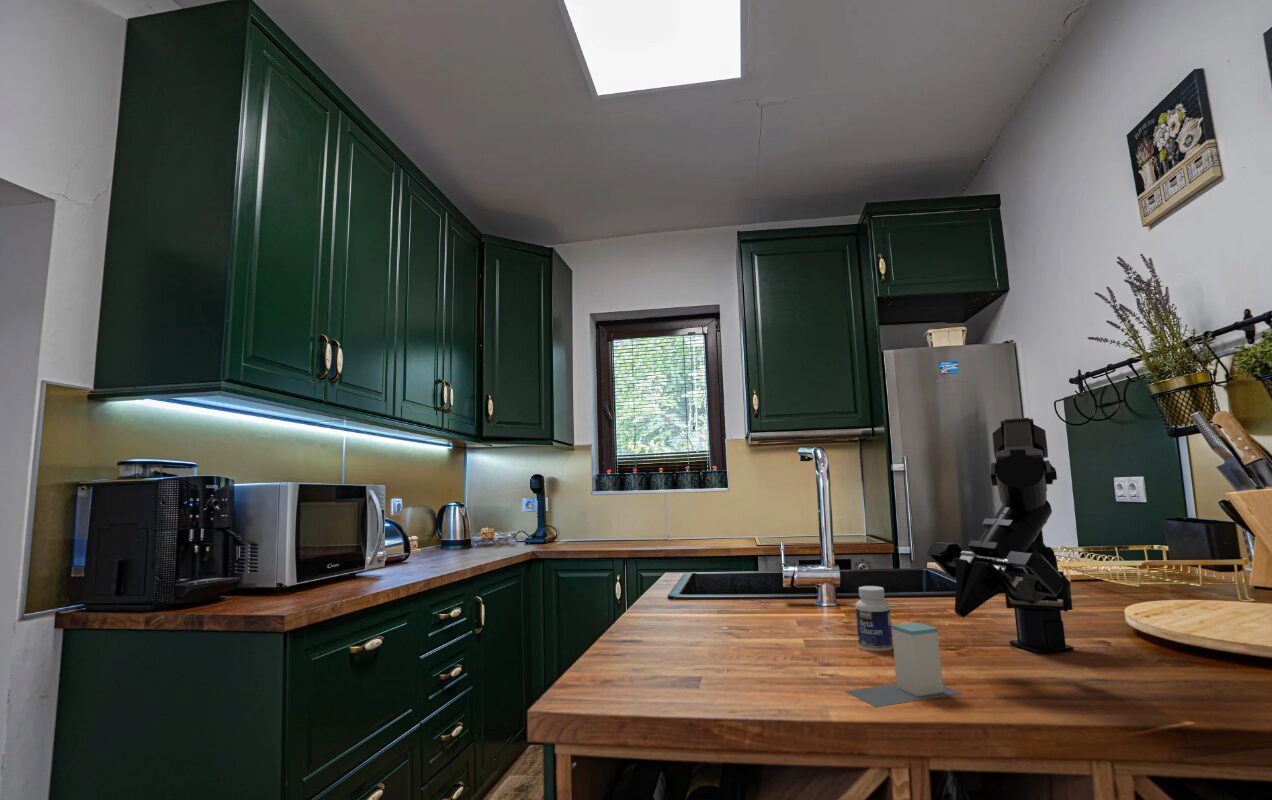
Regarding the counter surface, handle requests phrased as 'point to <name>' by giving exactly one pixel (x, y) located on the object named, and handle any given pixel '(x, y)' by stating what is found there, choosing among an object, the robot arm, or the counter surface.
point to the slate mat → (894, 695)
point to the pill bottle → (873, 620)
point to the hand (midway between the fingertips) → (959, 614)
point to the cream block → (917, 658)
